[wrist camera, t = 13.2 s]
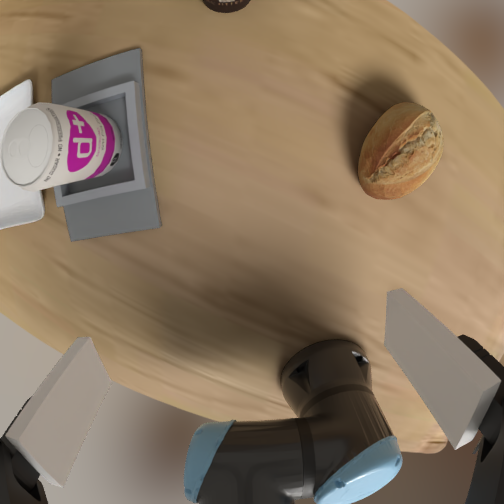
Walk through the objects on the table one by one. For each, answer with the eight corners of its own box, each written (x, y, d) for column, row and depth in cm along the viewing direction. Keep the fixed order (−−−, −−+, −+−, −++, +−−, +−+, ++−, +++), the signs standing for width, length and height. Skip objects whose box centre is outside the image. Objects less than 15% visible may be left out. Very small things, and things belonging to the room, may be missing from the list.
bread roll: (331, 166, 35) (354, 169, 28) (392, 87, 32) (423, 76, 24) (381, 212, 38) (411, 226, 30) (436, 135, 34) (471, 135, 26)
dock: (161, 225, 37) (155, 231, 34) (74, 239, 37) (64, 245, 34) (142, 50, 29) (134, 42, 26) (55, 80, 29) (44, 77, 26)
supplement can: (127, 113, 31) (63, 93, 17) (122, 177, 34) (56, 194, 20) (74, 117, 31) (0, 108, 16) (70, 177, 33) (-4, 195, 19)
